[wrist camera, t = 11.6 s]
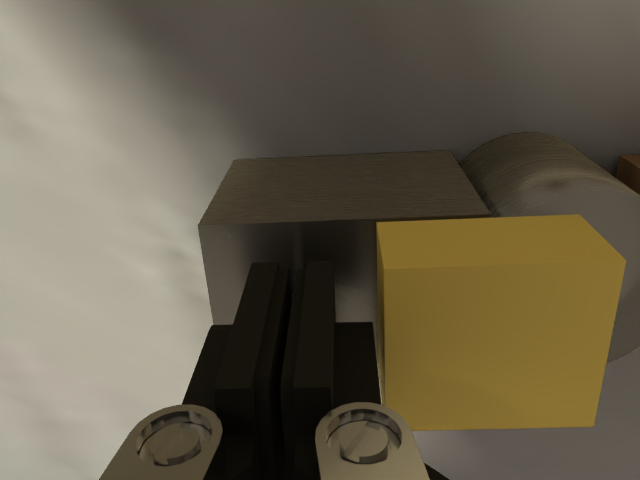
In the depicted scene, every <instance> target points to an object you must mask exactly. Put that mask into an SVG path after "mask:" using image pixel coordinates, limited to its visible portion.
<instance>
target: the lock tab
mask: <svg viewBox="0 0 640 480" xmlns="http://www.w3.org/2000/svg"><path fill="white" fill-rule="evenodd" d="M376 228H377V301H378V368H379V378H380V387H381V396H382V405H384V406H386V407H388V408H390V409H392V410H395V411H396V412H397V413H398V414H400V415H401V416H402V417H403V418H404V419H405V420H406V422H407V423H408V425H409V427H410V428H411V430H412V431H428V430H472V429H516V428H560V427H594V423H595V418H596V413H597V408H598V403H599V398H600V392H601V387H602V382H603V377H604V372H605V367H606V362H607V357H608V352H609V347H610V341H611V336H612V331H613V326H614V321H615V316H616V311H617V306H618V301H619V296H620V290H621V285H622V280H623V275H624V270H625V265H626V260H625V259H624V258H623V257H622V256H621V255H620V254H619V253H618V252H617V251H616V250H615V249H614V248H613V247H612V246H611V245H610V244H609V243H608V242H607V241H606V240H605V239H604V238H603V237H602V236H601V235H600V234H599V233H598V232H597V231H596V230H595V229H594V228H593V227H592V226H591V225H590V224H589V223H588V222H587V221H586V220H585V219H584V218H583V217H582V216H581V215H580V214H572V215H547V216H522V217H497V218H472V219H447V220H422V221H397V222H376Z"/></svg>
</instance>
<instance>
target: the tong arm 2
mask: <svg viewBox="0 0 640 480" xmlns="http://www.w3.org/2000/svg"><path fill="white" fill-rule="evenodd" d="M616 178H617V179H618V180H619V181H621V182H622V183H624V184H625V185H626V186H628V187H629V188H631V189H632V190H633V191H635V192H636V193H637V194H639V195H640V155H620V158H619V164H618V169H617V174H616Z"/></svg>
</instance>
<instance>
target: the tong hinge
mask: <svg viewBox="0 0 640 480" xmlns="http://www.w3.org/2000/svg"><path fill="white" fill-rule="evenodd" d="M572 214H580V215H581V216H582V217H583V218H584V219H585V220H586V221H587V222H588V223H589V224H590V225H591V226H592V227H593V228H594V229H595V230H596V231H597V232H598V233H599V234H600V235H601V236H602V237H603V238H604V239H605V240H606V241H607V242H608V243H609V244H610V245H611V246H612V247H613V248H614V249H615V250H616V251H617V252H618V253H619V254H620V255H621V256H622V257H623V258H624V259H625V260H626V265H625V270H624V275H623V280H622V285H621V290H620V296H619V301H618V306H617V311H616V316H615V321H614V326H613V331H612V336H611V341H610V347H609V352H608V357H607V362H606V363H608V362H610V361H613V360H615V359H618V358H620V357H622V356H624V355H626V354H628V353H629V352H631V351H633V350H634V349H636V348H637V347H639V346H640V195H639V194H637V193H636V192H635V191H633V190H632V189H631V188H629V187H628V186H626V185H625V184H624V183H622V182H621V181H619V180H618V179H617V178H615V177H614V176H613V175H611V174H610V173H608V172H607V171H606V170H604V169H603V168H601V167H600V166H599V165H597V164H596V163H595V162H593V161H592V160H590V159H589V158H588V157H586V156H585V155H584V154H582V153H581V152H579V151H578V150H577V149H575V148H574V147H572V146H571V145H569V144H568V143H566V142H565V141H563V140H561V139H558V138H556V137H553V136H550V135H546V134H541V133H525V132H524V133H515V134H510V135H506V136H502V137H499V138H497V139H494V140H492V141H490V142H488V143H486V144H484V145H482V146H480V147H479V148H477V149H476V150H474V151H473V152H472V153H471V154H469V155H468V156H467V157H466V158H465V159H464V160H463V161H462V162H461V163H460V164H458V163H457V161H456V159H455V158H454V156H453V155H452V153H451V152H450V150H443V151H421V152H399V153H377V154H355V155H333V156H311V157H289V158H267V159H245V160H234V161H233V163H232V165H231V167H230V168H229V170H228V172H227V174H226V176H225V177H224V179H223V181H222V183H221V185H220V186H219V188H218V190H217V192H216V194H215V195H214V197H213V199H212V201H211V203H210V204H209V206H208V208H207V210H206V212H205V213H204V215H203V217H202V219H201V221H200V223H199V224H198V230H199V236H200V243H201V249H202V255H203V261H204V268H205V274H206V280H207V287H208V293H209V299H210V305H211V312H212V318H213V324H214V325H229V324H233V322H234V319H235V316H236V313H237V309H238V306H239V303H240V300H241V296H242V293H243V290H244V287H245V283H246V280H247V277H248V273H249V270H250V267H251V264H252V263H257V262H279V264H280V269H289V270H290V279H291V292H292V298H293V292H294V285H295V278H296V271H297V268H306V266H307V261H333V262H334V286H335V313H336V322H373V329H374V339H375V348H376V358H377V362H378V301H377V228H376V222H397V221H422V220H447V219H472V218H497V217H522V216H547V215H572Z"/></svg>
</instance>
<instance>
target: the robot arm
mask: <svg viewBox="0 0 640 480" xmlns="http://www.w3.org/2000/svg"><path fill="white" fill-rule="evenodd" d="M99 480H449V479H448V478H446V477H445V476H443V475H442V474H440V473H439V472H437V471H436V470H434V469H433V468H431V467H430V466H428V465H427V464H425V463H424V462H423V460H422V457H421V455H420V452H419V449H418V446H417V444H416V441H415V438H414V436H413V433H412V430H411V428H410V427H409V425H408V423H407V422H406V420H405V419H404V418H403V417H402V416H401V415H400V414H398V413H397V412H396V411H395V410H392V409H390V408H388V407H386V406H384V405H381V398H380V388H379V378H378V368H377V358H376V348H375V339H374V329H373V322H336V313H335V286H334V262H333V261H307V266H306V268H297V271H296V278H295V285H294V292H293V298H292V292H291V279H290V270H289V269H280V264H279V262H257V263H252V264H251V267H250V270H249V273H248V277H247V280H246V283H245V287H244V290H243V293H242V296H241V300H240V303H239V306H238V309H237V313H236V316H235V319H234V322H233V324H229V325H212V326H211V328H210V330H209V332H208V335H207V337H206V340H205V343H204V346H203V348H202V351H201V354H200V356H199V359H198V362H197V365H196V367H195V370H194V373H193V375H192V378H191V381H190V384H189V386H188V389H187V392H186V394H185V397H184V400H183V403H182V405H175V406H171V407H167V408H163V409H161V410H159V411H156V412H154V413H152V414H150V415H149V416H147V417H146V418H144V419H143V420H141V421H140V422H139V423H138V424H137V425H136V426H135V427H134V428H133V430H132V431H131V432H130V433H129V435H128V436H127V438H126V439H125V441H124V442H123V444H122V445H121V447H120V448H119V450H118V451H117V453H116V454H115V456H114V457H113V459H112V460H111V462H110V463H109V465H108V466H107V468H106V469H105V471H104V472H103V474H102V475H101V477H100V478H99Z"/></svg>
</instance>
